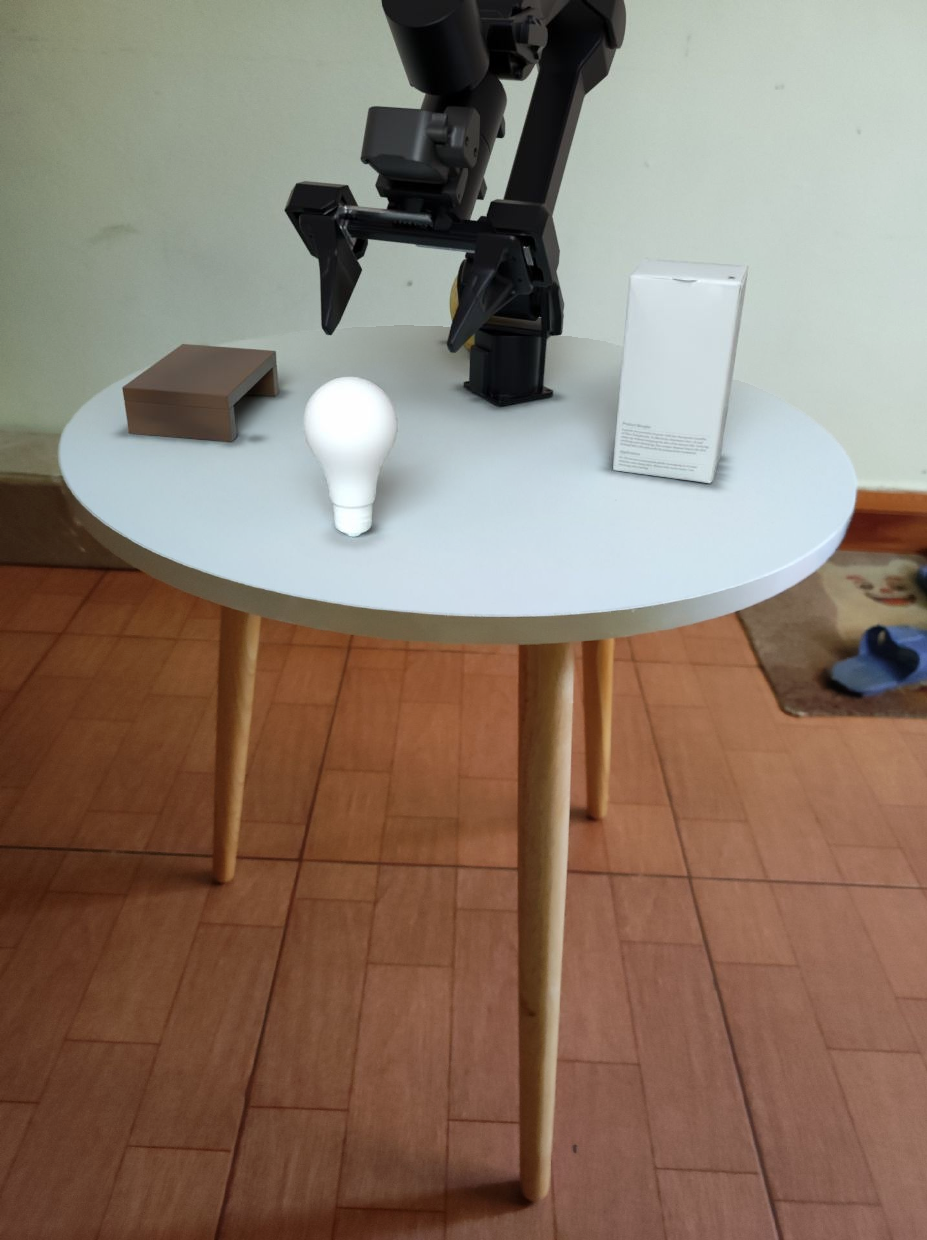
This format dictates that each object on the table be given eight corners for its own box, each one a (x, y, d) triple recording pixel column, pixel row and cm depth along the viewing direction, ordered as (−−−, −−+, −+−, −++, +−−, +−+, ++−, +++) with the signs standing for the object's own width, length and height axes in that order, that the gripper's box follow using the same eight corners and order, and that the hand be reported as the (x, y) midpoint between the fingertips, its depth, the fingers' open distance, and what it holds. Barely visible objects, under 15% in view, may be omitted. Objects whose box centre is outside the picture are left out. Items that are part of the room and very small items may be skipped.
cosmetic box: (721, 458, 83) (755, 264, 75) (711, 488, 78) (747, 282, 69) (622, 443, 85) (645, 253, 77) (606, 471, 80) (628, 270, 72)
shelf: (278, 392, 94) (276, 350, 92) (231, 442, 83) (227, 395, 80) (187, 385, 95) (182, 343, 92) (128, 433, 84) (121, 386, 81)
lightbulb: (349, 508, 72) (345, 358, 67) (415, 532, 69) (416, 377, 64) (290, 537, 68) (280, 380, 62) (358, 564, 65) (353, 401, 59)
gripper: (290, 47, 65) (212, 252, 62) (563, 61, 60) (494, 286, 57) (346, 165, 76) (283, 346, 73) (583, 186, 71) (526, 382, 67)
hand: (387, 340), depth 67 cm, fingers open, 9 cm apart
